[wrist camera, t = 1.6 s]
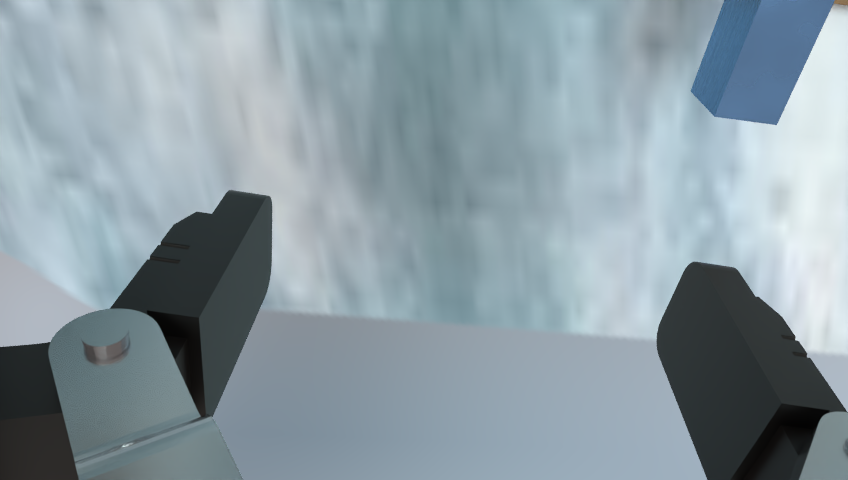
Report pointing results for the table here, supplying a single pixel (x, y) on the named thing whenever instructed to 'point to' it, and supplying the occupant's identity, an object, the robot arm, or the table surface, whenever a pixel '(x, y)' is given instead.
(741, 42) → the lever
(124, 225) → the table surface
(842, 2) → the valve
